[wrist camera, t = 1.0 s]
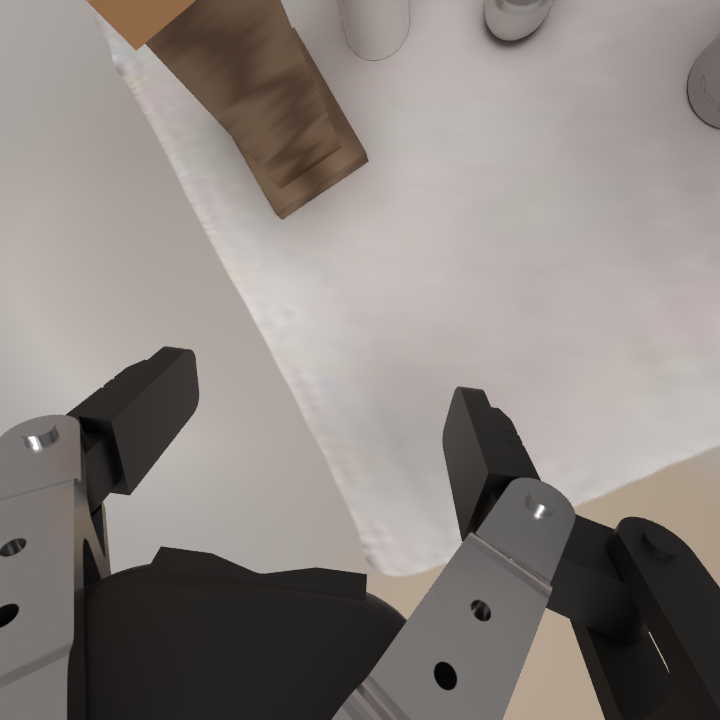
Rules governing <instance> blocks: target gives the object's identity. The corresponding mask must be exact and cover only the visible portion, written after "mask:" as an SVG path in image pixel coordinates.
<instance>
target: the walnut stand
mask: <svg viewBox="0 0 720 720" xmlns="http://www.w3.org/2000/svg"><path fill="white" fill-rule="evenodd" d="M145 44H146V45H147V46H148V47H149V48H150V49H151V50H152V51H153V53H154V54H155V55H156V56H157V57H158V58H159V59H160V60H161V61H162V62H163V63H164V64H165V65H166V66H167V67H168V69H169V70H170V71H171V72H172V73H173V74H174V75H175V76H176V77H177V78H178V79H179V80H180V81H181V82H182V83H183V85H184V86H185V87H186V88H187V89H188V90H189V91H190V92H191V93H192V94H193V95H194V96H195V97H196V98H197V99H198V101H199V102H200V103H201V104H202V105H203V106H204V107H205V108H206V109H207V110H208V111H209V112H210V113H211V114H212V115H213V117H214V118H215V119H216V120H217V121H218V122H219V123H220V124H221V125H222V126H223V127H224V128H225V129H226V130H227V131H228V132H229V134H230V135H231V136H232V138H233V139H234V141H235V143H236V145H237V147H238V148H239V150H240V152H241V154H242V155H243V157H244V159H245V161H246V162H247V164H248V166H249V168H250V169H251V171H252V173H253V175H254V177H255V178H256V180H257V182H258V184H259V185H260V187H261V189H262V191H263V192H264V194H265V196H266V198H267V200H268V201H269V203H270V205H271V207H272V208H273V210H274V212H275V214H276V215H277V216H279V217H280V218H281V219H284V218H285V217H287V216H288V215H290V214H291V213H293V212H294V211H295V210H297V209H298V208H300V207H301V206H303V205H304V204H306V203H307V202H309V201H310V200H312V199H313V198H315V197H316V196H318V195H319V194H321V193H322V192H324V191H325V190H327V189H328V188H330V187H331V186H332V185H334V184H335V183H337V182H338V181H340V180H341V179H343V178H344V177H346V176H347V175H349V174H350V173H352V172H353V171H355V170H356V169H358V168H359V167H361V166H362V165H364V164H365V163H367V162H368V158H367V154H366V152H365V150H364V148H363V147H362V145H361V143H360V141H359V140H358V138H357V136H356V134H355V133H354V131H353V129H352V127H351V126H350V124H349V122H348V120H347V119H346V117H345V115H344V113H343V112H342V110H341V108H340V106H339V105H338V103H337V101H336V100H335V98H334V96H333V94H332V93H331V91H330V89H329V87H328V86H327V84H326V82H325V80H324V79H323V77H322V75H321V73H320V72H319V70H318V68H317V66H316V65H315V63H314V61H313V59H312V58H311V56H310V54H309V52H308V51H307V49H306V47H305V46H304V44H303V42H302V40H301V39H300V37H299V35H298V33H297V32H296V30H295V28H292V27H291V25H290V22H289V20H288V17H287V15H286V12H285V10H284V8H283V5H282V3H281V0H196V1H195V2H193V3H192V4H191V5H190V6H189V7H188V8H186V9H185V10H184V11H183V12H182V13H180V14H179V15H178V16H177V17H176V18H174V19H173V20H172V21H171V22H170V23H168V24H167V25H166V26H165V27H164V28H163V29H161V30H160V31H159V32H158V33H157V34H155V35H154V36H153V37H152V38H151V39H149V40H148V41H147V42H146V43H145Z"/></svg>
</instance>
